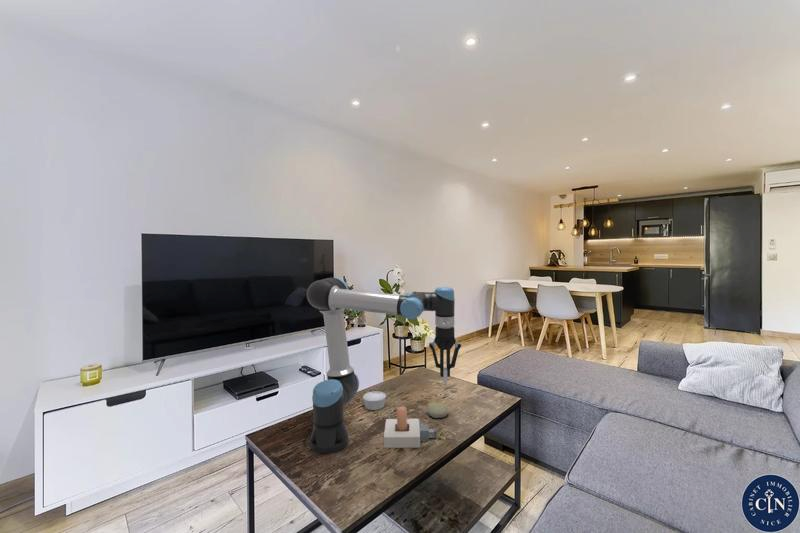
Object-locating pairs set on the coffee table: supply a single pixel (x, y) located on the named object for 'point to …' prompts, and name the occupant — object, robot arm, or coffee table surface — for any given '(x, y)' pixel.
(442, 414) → the sea urchin shell
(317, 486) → the coffee table surface
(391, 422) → the dock
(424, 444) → the coffee table surface
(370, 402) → the ramekin
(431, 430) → the lock pin
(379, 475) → the coffee table surface
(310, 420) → the coffee table surface
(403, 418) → the peg
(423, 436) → the pin guide
